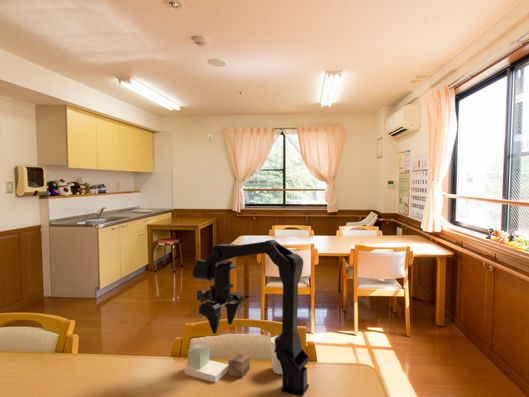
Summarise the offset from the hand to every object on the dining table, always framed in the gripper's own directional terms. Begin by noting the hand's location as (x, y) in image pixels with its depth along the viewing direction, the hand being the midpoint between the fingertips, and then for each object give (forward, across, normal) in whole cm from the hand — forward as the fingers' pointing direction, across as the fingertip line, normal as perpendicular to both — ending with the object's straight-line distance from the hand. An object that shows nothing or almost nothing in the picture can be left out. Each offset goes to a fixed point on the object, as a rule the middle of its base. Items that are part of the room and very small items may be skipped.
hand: (222, 328), depth 110 cm
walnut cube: (+14, -1, +6) cm, 15 cm away
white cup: (+14, -9, +18) cm, 24 cm away
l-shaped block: (+14, +4, -4) cm, 14 cm away
